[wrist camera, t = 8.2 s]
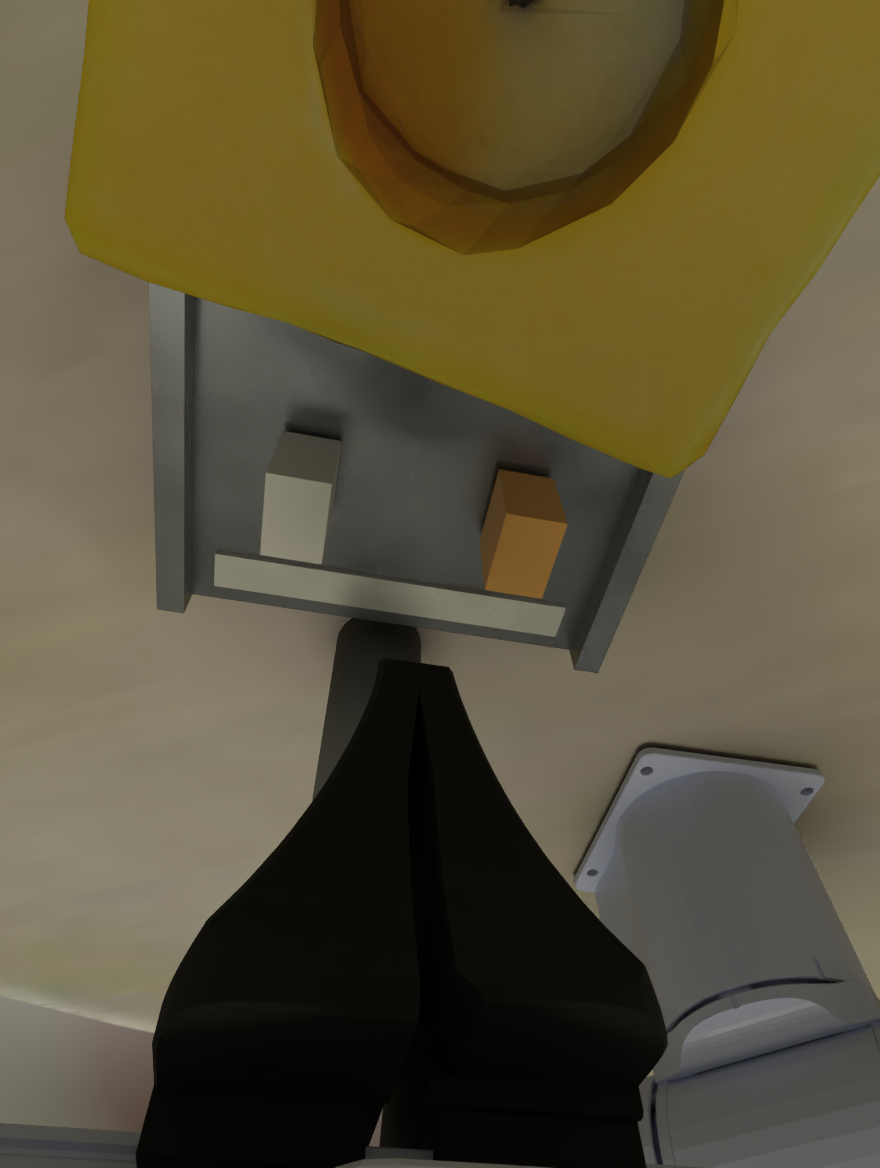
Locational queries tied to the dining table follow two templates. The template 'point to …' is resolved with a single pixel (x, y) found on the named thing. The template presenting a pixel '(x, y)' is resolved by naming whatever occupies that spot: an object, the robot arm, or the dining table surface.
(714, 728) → the dining table surface
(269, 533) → the upright cream block
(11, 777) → the dining table surface
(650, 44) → the candle
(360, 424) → the grey tray
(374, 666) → the post
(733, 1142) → the robot arm
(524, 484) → the tan rectangular prism
